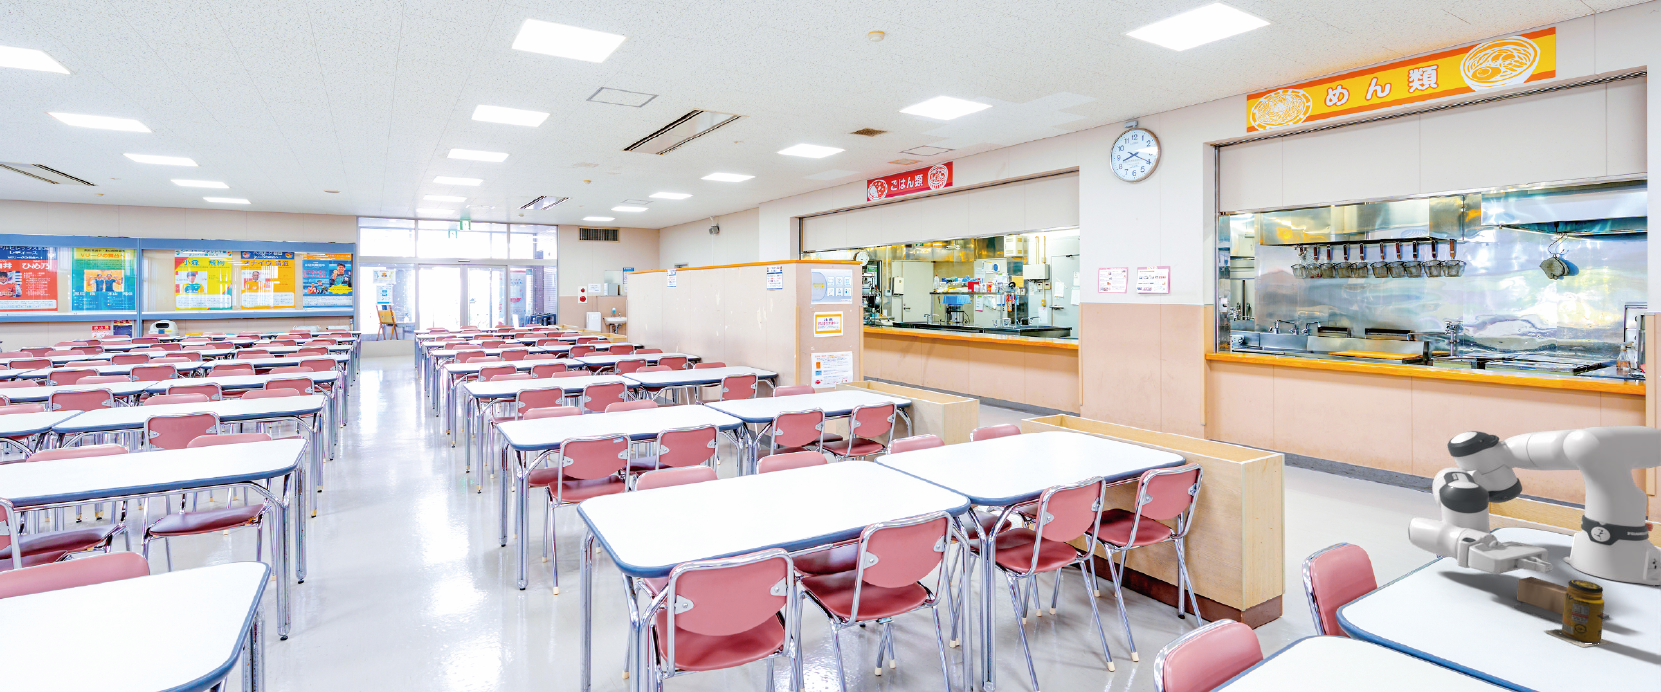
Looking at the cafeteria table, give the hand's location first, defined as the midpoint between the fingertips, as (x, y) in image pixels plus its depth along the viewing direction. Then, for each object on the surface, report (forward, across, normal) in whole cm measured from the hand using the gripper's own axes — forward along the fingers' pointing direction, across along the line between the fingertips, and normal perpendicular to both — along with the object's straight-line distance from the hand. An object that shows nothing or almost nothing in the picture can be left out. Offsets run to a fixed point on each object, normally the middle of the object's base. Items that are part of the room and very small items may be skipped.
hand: (1548, 568), depth 176 cm
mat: (+3, 0, -10) cm, 10 cm away
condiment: (+11, +12, -10) cm, 19 cm away
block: (-4, 0, -6) cm, 8 cm away
